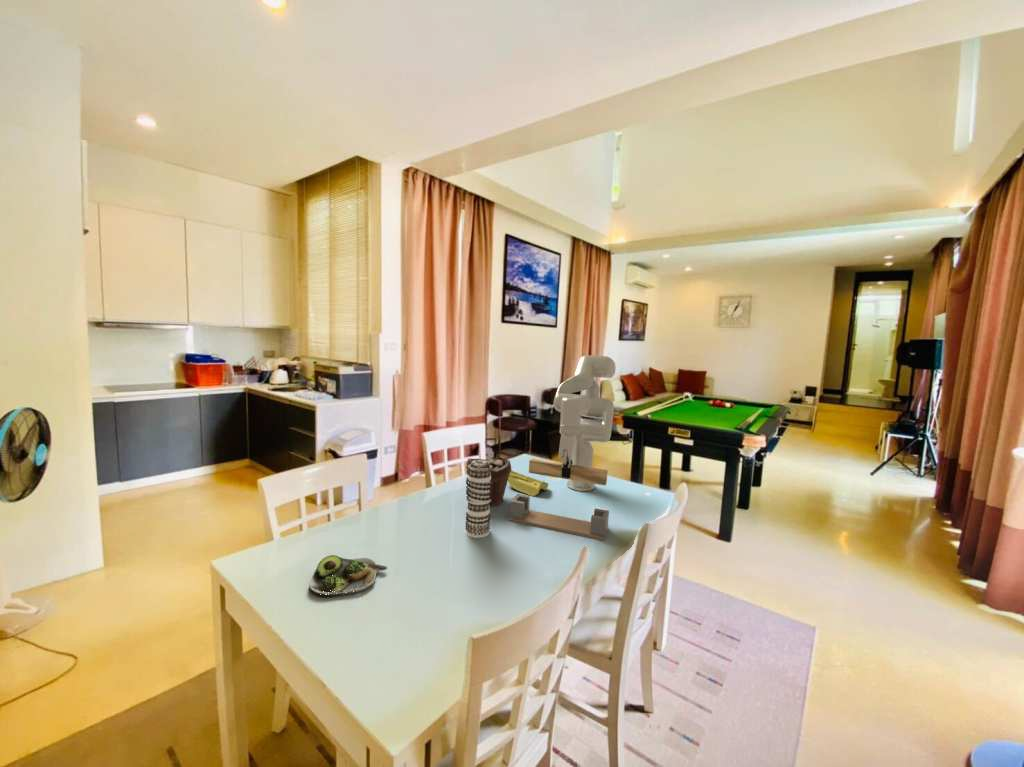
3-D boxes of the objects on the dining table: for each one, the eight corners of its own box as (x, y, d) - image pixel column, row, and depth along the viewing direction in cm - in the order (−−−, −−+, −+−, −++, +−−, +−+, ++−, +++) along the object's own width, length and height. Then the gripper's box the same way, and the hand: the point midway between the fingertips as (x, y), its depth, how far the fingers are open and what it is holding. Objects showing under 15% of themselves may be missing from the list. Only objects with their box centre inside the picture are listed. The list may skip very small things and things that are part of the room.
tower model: (458, 533, 143) (460, 463, 140) (473, 523, 151) (475, 456, 148) (481, 541, 139) (484, 468, 136) (495, 529, 147) (498, 461, 144)
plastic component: (550, 484, 187) (541, 480, 179) (544, 500, 186) (535, 497, 178) (513, 471, 198) (503, 467, 190) (508, 486, 196) (498, 483, 188)
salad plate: (388, 558, 127) (388, 543, 126) (384, 594, 110) (384, 577, 109) (320, 563, 122) (319, 548, 122) (304, 602, 105) (303, 585, 105)
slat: (531, 470, 168) (531, 458, 168) (606, 482, 158) (607, 470, 157) (528, 472, 165) (529, 460, 165) (605, 485, 155) (606, 472, 155)
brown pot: (519, 497, 176) (520, 456, 174) (492, 514, 160) (493, 468, 158) (485, 488, 186) (485, 449, 184) (456, 502, 169) (456, 459, 167)
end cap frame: (517, 510, 164) (518, 492, 163) (608, 528, 152) (609, 509, 151) (508, 520, 155) (509, 502, 154) (603, 540, 143) (605, 520, 142)
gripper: (565, 424, 168) (562, 468, 171) (554, 432, 153) (551, 481, 155) (583, 426, 166) (580, 471, 168) (574, 435, 150) (571, 484, 153)
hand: (566, 475), depth 162 cm, fingers closed on slat, 3 cm apart
